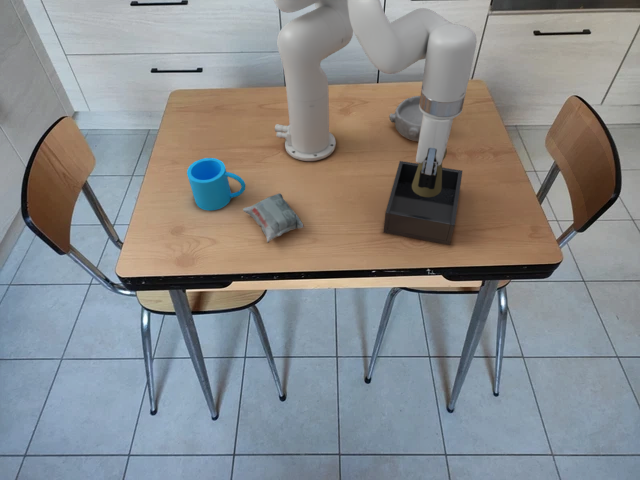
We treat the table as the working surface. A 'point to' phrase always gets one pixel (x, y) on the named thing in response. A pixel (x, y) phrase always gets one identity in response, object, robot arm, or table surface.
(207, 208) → the mug
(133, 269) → the table surface
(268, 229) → the packaged food
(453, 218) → the open box
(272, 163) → the table surface
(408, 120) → the dish
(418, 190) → the olive pawn
